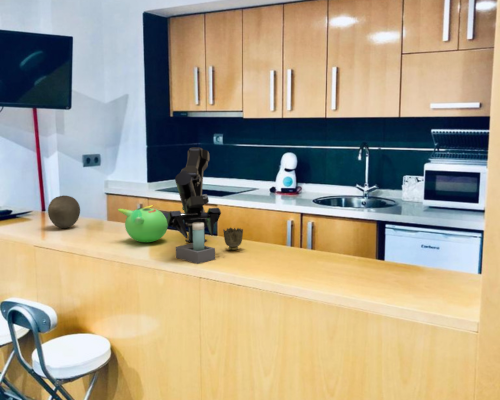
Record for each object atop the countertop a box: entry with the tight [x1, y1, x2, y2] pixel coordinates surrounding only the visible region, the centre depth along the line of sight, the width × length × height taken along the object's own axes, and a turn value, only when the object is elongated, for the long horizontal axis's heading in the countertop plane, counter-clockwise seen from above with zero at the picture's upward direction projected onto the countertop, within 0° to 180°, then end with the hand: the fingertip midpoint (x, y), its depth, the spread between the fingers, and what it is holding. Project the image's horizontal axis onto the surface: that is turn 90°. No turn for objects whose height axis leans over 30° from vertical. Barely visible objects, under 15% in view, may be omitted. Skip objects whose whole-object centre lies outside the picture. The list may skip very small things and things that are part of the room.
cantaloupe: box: [47, 195, 81, 229], centre depth 242 cm, size 14×14×15 cm
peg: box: [192, 222, 206, 251], centre depth 187 cm, size 4×4×13 cm
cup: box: [222, 227, 244, 252], centre depth 200 cm, size 8×7×8 cm
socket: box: [175, 242, 216, 265], centre depth 189 cm, size 12×8×4 cm, turn 46°
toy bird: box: [117, 204, 169, 243], centre depth 215 cm, size 18×17×15 cm
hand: (199, 236), depth 185 cm, fingers open, 9 cm apart
